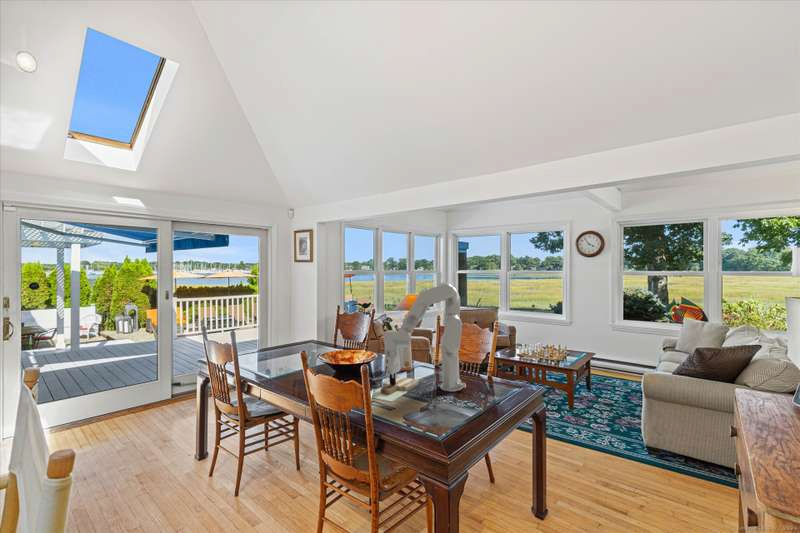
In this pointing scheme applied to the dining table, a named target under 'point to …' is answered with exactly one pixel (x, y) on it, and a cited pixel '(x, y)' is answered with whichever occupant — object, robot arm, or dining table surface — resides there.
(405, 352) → the cracker box
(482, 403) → the dining table surface
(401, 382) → the deck
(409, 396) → the dining table surface
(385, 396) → the mat
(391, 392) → the tile
